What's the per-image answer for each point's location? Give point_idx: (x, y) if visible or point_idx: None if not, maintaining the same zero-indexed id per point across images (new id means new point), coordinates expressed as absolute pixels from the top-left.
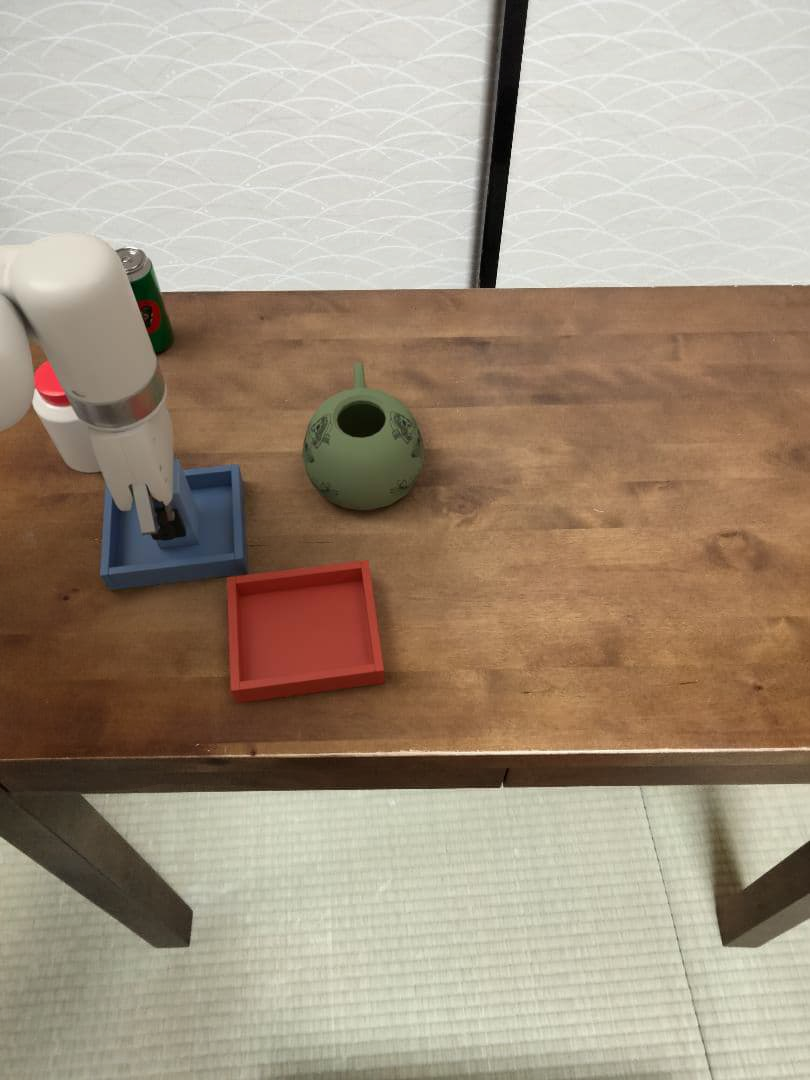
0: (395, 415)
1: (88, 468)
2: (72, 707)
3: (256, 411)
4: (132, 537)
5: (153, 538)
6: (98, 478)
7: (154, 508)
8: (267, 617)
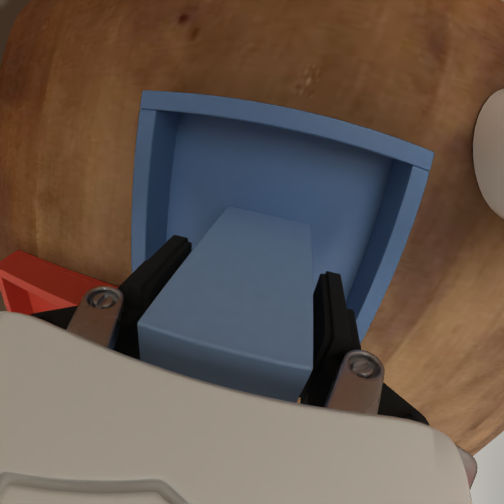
0: None
1: (484, 121)
2: (30, 59)
3: (432, 391)
4: (277, 156)
5: (172, 237)
6: (460, 128)
7: (131, 334)
8: None
